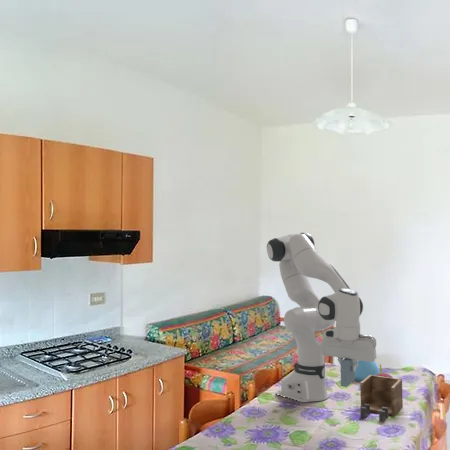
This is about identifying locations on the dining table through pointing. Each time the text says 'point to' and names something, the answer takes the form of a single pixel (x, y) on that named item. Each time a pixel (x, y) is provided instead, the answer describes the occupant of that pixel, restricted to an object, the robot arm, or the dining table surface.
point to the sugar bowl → (365, 370)
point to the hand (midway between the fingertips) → (348, 370)
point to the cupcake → (383, 374)
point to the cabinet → (381, 396)
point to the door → (347, 372)
